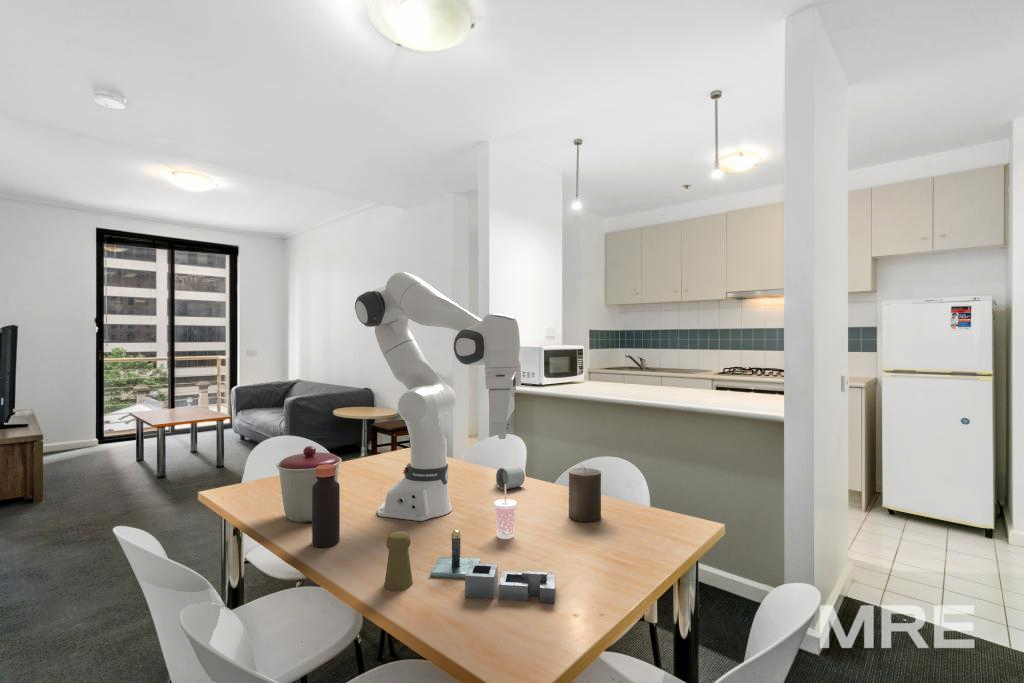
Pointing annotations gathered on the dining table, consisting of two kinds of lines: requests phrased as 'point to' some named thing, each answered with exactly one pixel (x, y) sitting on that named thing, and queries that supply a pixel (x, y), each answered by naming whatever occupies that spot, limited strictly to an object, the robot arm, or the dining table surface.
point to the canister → (302, 481)
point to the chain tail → (527, 585)
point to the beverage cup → (505, 517)
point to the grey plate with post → (453, 561)
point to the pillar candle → (585, 494)
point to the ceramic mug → (509, 477)
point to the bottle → (325, 508)
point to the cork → (398, 562)
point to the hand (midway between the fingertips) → (504, 434)
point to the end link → (481, 580)
